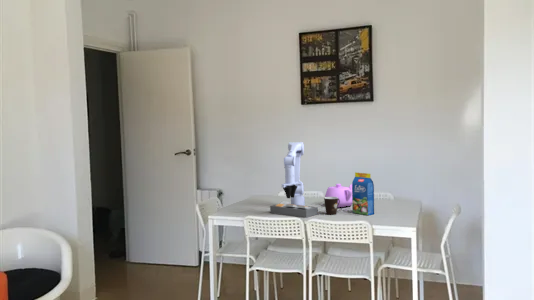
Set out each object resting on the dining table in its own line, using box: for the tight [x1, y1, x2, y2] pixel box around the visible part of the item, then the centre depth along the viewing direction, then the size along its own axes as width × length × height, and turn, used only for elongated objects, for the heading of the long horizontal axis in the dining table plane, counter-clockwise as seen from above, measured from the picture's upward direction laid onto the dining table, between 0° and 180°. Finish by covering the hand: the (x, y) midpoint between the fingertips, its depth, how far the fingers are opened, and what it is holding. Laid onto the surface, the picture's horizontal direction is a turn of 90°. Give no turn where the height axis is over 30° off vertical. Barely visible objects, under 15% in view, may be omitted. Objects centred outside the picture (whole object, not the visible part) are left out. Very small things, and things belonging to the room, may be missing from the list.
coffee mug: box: [323, 196, 340, 216], centre depth 292 cm, size 12×9×10 cm
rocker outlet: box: [297, 205, 313, 209], centre depth 290 cm, size 9×6×1 cm, turn 140°
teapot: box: [324, 183, 352, 209], centre depth 318 cm, size 23×21×15 cm
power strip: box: [269, 203, 319, 219], centre depth 296 cm, size 12×28×4 cm, turn 50°
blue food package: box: [351, 171, 375, 216], centre depth 290 cm, size 6×12×25 cm, turn 39°
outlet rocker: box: [275, 200, 291, 207], centre depth 302 cm, size 9×6×1 cm, turn 140°
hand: (290, 197), depth 293 cm, fingers open, 3 cm apart
